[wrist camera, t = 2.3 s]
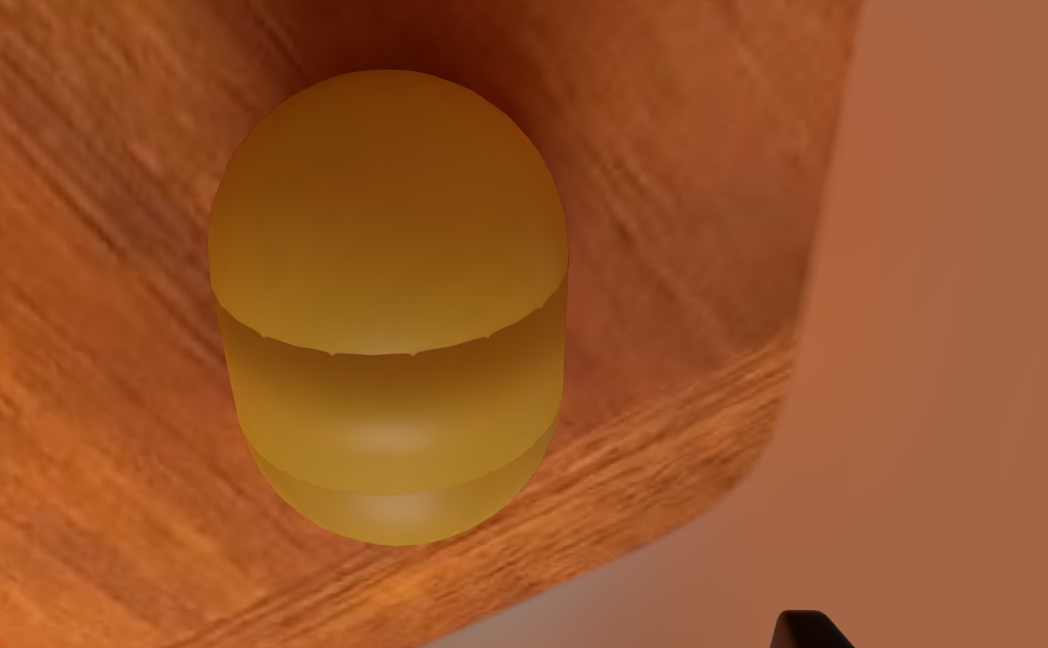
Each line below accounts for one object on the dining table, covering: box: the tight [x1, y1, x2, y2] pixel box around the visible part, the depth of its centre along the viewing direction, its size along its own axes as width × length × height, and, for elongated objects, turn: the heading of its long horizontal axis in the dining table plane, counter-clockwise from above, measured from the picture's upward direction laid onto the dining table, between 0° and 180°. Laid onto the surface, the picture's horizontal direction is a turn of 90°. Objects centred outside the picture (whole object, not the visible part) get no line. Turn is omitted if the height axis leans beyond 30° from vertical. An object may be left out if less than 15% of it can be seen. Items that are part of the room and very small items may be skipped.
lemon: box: [207, 69, 569, 546], centre depth 15 cm, size 8×5×5 cm
